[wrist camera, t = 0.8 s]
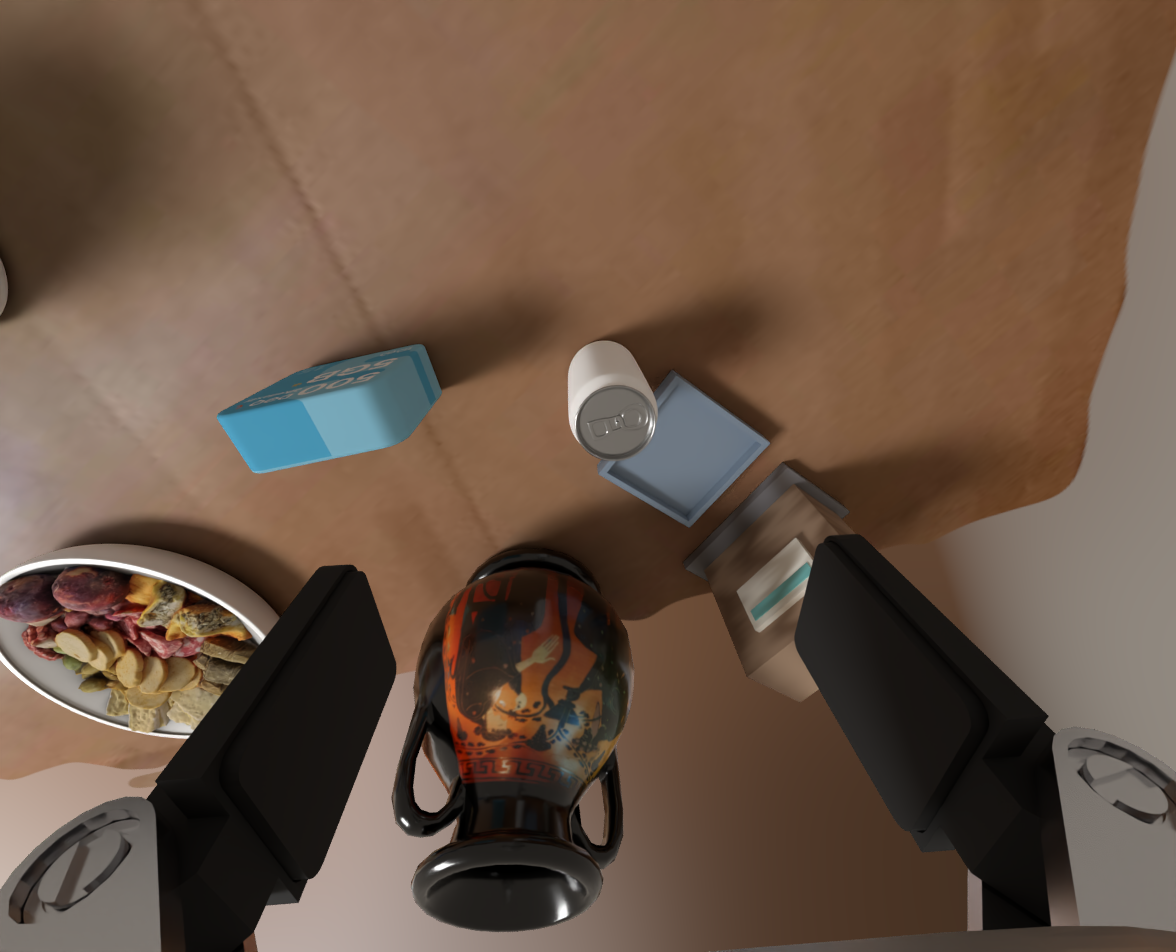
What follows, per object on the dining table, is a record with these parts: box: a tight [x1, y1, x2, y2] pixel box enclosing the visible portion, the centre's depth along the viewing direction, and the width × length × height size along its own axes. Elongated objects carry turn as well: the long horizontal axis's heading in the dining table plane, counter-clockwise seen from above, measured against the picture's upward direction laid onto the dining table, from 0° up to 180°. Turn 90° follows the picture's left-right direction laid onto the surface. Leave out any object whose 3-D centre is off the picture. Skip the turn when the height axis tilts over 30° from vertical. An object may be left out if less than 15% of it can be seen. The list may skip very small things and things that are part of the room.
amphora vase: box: [392, 548, 634, 932], centre depth 41 cm, size 22×22×28 cm
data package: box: [217, 344, 442, 473], centre depth 35 cm, size 12×4×12 cm, turn 101°
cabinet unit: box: [683, 462, 855, 702], centre depth 44 cm, size 16×10×15 cm, turn 145°
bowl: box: [0, 544, 280, 738], centre depth 51 cm, size 30×30×8 cm
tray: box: [597, 370, 770, 528], centre depth 44 cm, size 12×12×2 cm
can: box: [568, 341, 658, 461], centre depth 35 cm, size 6×6×12 cm
